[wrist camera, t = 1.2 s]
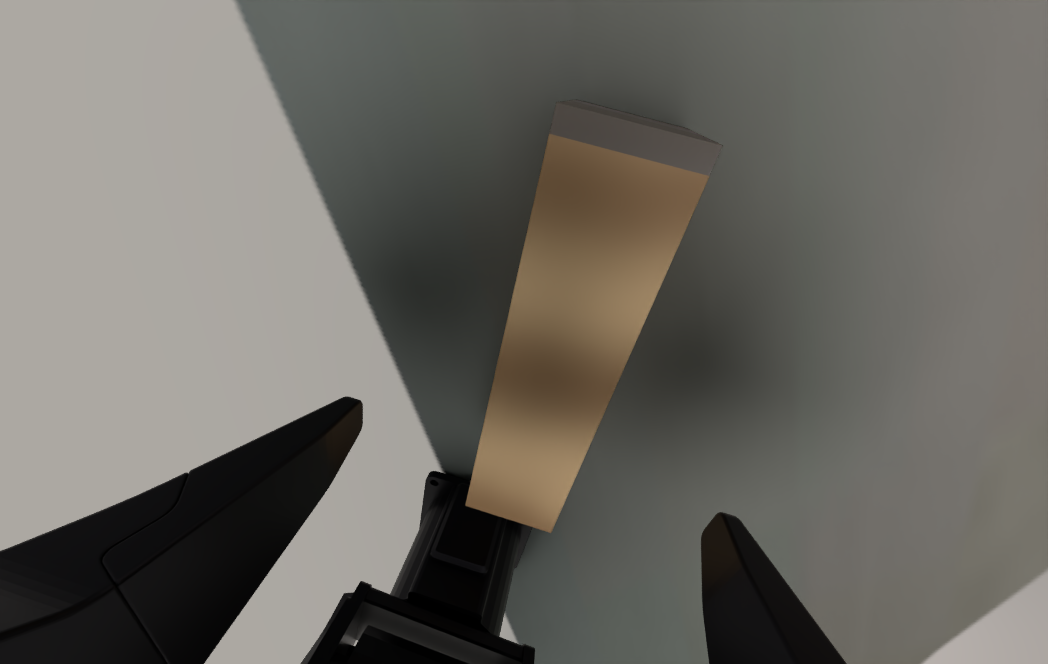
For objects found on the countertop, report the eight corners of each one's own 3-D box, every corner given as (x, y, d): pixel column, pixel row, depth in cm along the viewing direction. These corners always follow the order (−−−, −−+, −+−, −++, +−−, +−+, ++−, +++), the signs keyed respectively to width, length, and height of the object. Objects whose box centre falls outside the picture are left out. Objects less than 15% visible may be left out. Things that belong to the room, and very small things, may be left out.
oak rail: (564, 439, 20) (550, 532, 16) (497, 419, 20) (465, 505, 16) (686, 128, 12) (722, 145, 8) (576, 99, 13) (556, 102, 8)
